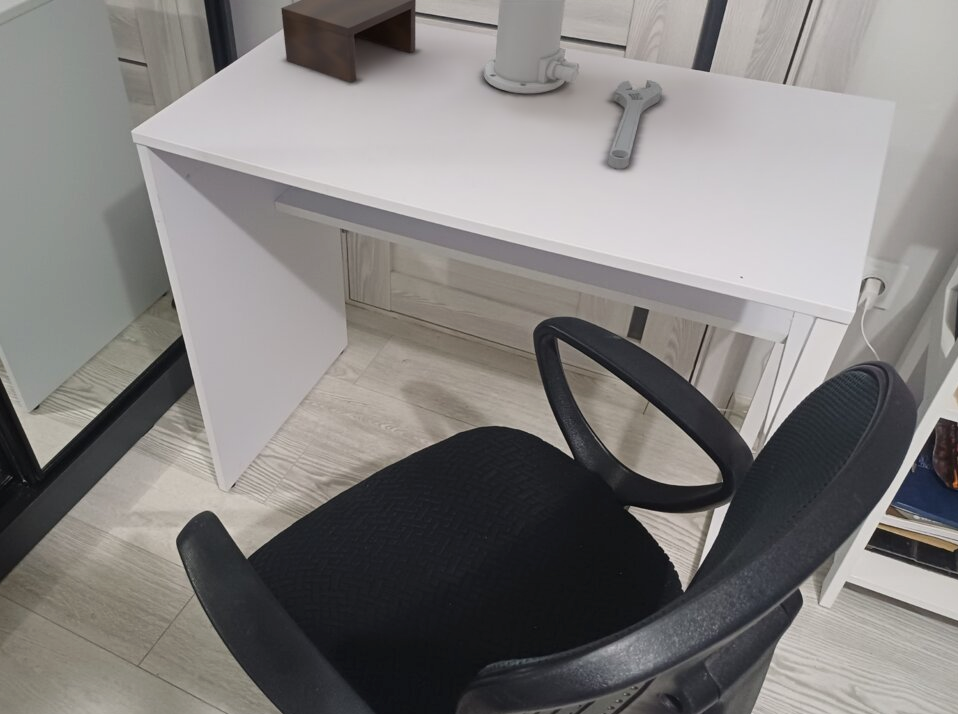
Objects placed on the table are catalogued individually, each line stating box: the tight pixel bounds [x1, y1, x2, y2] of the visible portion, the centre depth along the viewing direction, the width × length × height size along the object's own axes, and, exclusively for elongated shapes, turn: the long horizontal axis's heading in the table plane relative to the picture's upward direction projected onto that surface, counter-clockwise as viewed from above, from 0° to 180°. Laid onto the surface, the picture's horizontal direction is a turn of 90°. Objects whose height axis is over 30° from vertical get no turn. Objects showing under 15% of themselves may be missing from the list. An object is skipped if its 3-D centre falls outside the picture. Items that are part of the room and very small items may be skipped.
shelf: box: [280, 0, 417, 84], centre depth 131 cm, size 14×16×8 cm
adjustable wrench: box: [607, 79, 663, 170], centre depth 115 cm, size 25×6×2 cm, turn 157°
